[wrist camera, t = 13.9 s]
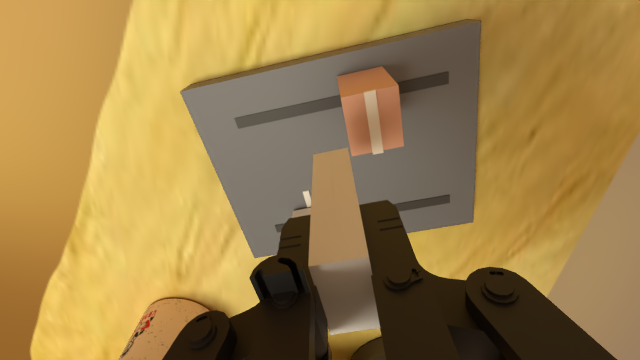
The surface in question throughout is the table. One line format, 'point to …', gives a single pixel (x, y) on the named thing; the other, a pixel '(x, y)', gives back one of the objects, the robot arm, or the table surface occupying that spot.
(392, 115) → the fader
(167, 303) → the teacup with lid
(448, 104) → the mixer board
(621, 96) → the table surface
